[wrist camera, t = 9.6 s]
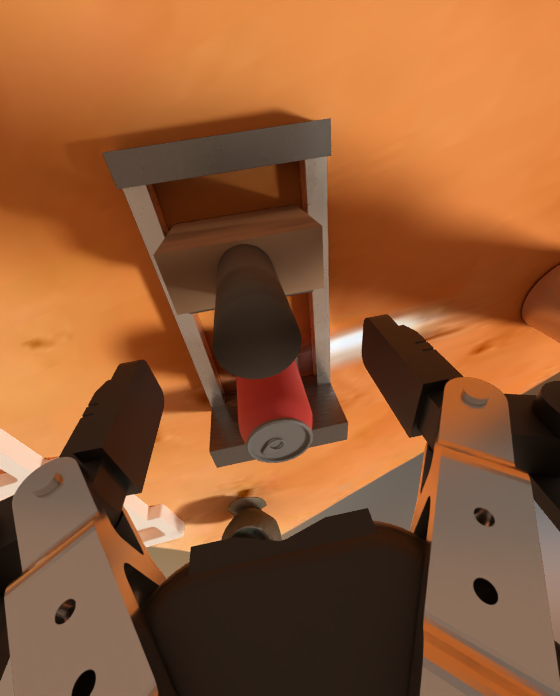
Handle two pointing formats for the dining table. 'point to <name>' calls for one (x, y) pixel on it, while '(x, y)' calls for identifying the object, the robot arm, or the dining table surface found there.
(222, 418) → the frame
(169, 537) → the holder
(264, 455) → the beer can
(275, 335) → the sliding jaw
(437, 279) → the dining table surface
